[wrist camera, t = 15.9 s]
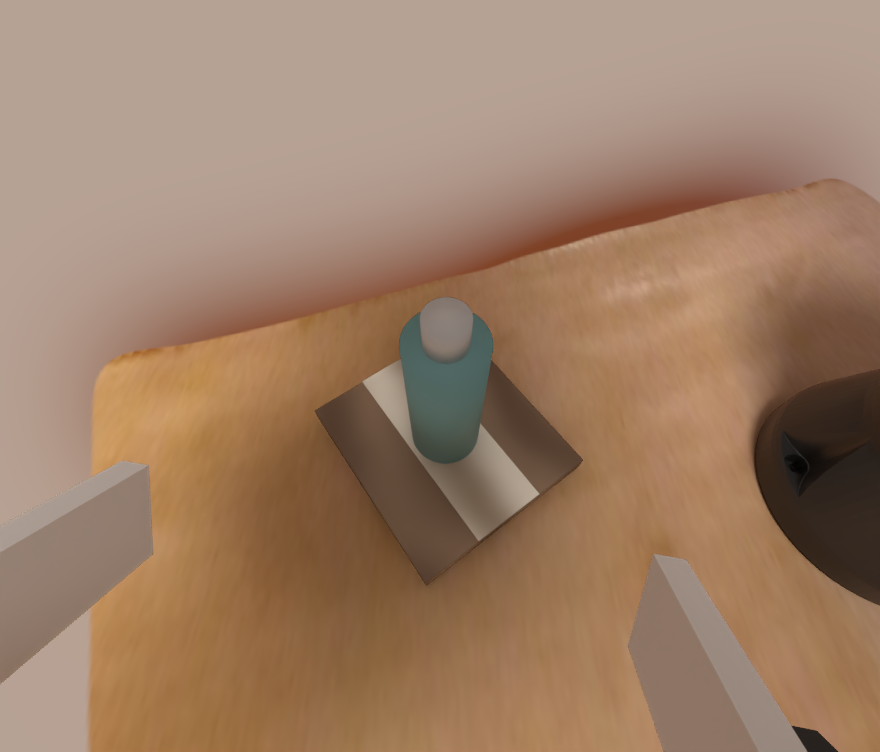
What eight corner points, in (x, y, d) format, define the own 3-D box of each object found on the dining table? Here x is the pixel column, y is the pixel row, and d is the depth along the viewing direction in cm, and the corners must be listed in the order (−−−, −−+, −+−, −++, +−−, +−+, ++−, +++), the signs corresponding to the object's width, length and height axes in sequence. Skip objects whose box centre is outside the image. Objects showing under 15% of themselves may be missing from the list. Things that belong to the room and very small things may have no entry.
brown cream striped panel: (458, 335, 38) (458, 323, 36) (577, 467, 32) (583, 459, 31) (319, 419, 34) (314, 409, 33) (426, 585, 28) (425, 582, 27)
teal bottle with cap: (451, 391, 33) (456, 264, 22) (491, 438, 32) (518, 326, 20) (399, 425, 32) (376, 309, 21) (437, 477, 30) (434, 379, 19)
